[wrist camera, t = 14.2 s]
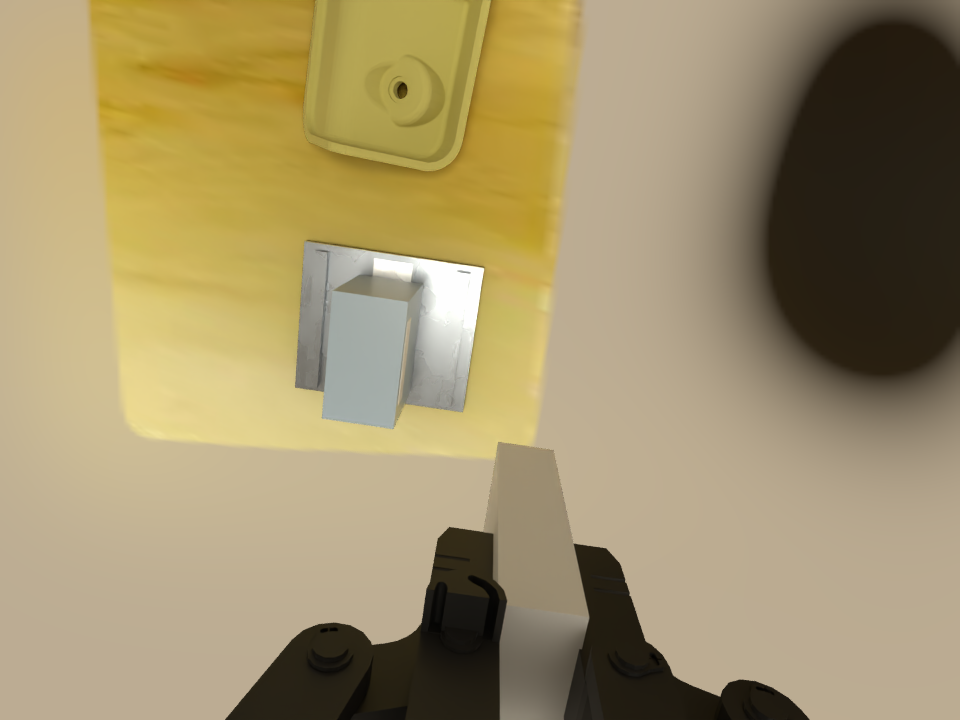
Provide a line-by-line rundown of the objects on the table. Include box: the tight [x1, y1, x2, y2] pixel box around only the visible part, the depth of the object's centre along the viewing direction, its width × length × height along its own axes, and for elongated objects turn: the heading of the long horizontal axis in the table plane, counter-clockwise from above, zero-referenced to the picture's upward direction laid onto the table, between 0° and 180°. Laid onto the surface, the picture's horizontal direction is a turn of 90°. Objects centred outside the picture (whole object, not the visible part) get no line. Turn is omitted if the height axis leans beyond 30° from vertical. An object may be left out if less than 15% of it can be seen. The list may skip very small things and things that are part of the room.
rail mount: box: [295, 241, 484, 412], centre depth 48 cm, size 12×14×2 cm
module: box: [322, 275, 423, 429], centre depth 44 cm, size 9×5×8 cm, turn 172°
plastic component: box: [303, 0, 491, 171], centre depth 40 cm, size 20×7×10 cm
